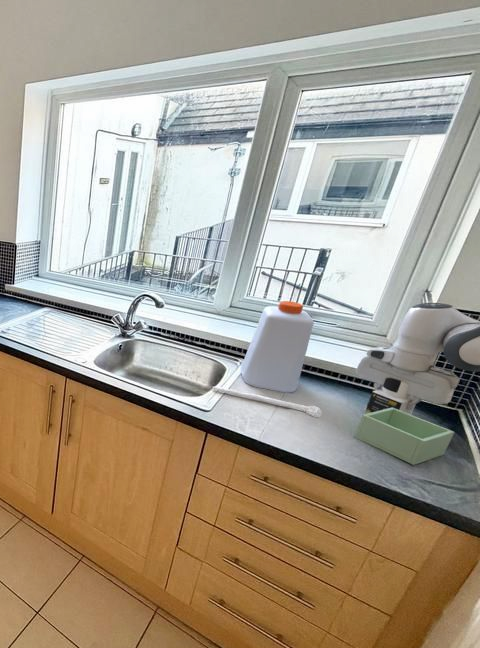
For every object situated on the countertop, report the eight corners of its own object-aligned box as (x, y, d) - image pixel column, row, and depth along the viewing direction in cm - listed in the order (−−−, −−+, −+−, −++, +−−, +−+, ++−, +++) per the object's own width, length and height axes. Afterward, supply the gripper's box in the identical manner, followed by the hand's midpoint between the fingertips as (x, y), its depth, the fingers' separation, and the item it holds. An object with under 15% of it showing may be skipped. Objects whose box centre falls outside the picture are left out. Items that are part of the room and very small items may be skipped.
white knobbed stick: (211, 393, 134) (213, 385, 133) (212, 388, 137) (214, 380, 136) (321, 420, 120) (324, 412, 119) (319, 413, 124) (322, 405, 122)
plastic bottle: (297, 397, 134) (328, 314, 123) (243, 386, 140) (267, 307, 129) (288, 376, 146) (314, 300, 135) (238, 367, 152) (259, 294, 141)
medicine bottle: (364, 411, 125) (377, 375, 121) (380, 407, 127) (394, 372, 123) (393, 424, 118) (408, 386, 114) (409, 420, 120) (425, 382, 116)
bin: (443, 454, 106) (454, 431, 103) (413, 465, 102) (424, 441, 99) (383, 428, 117) (392, 407, 114) (353, 436, 113) (362, 414, 110)
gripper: (468, 373, 108) (446, 419, 113) (374, 345, 126) (359, 386, 131) (455, 376, 106) (433, 423, 111) (361, 347, 124) (345, 389, 129)
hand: (392, 403), depth 121 cm, fingers closed on medicine bottle, 5 cm apart
